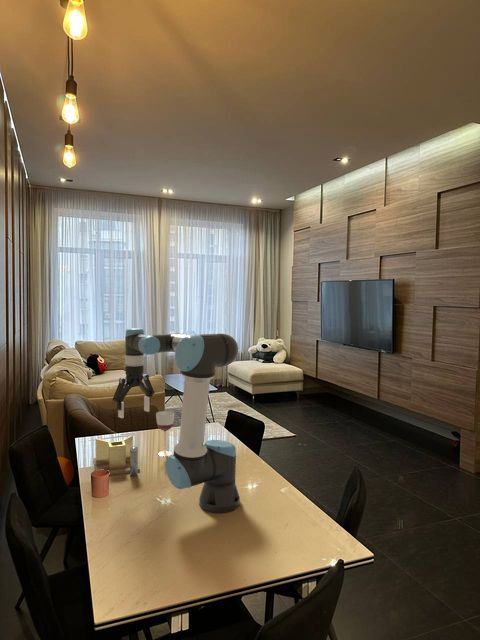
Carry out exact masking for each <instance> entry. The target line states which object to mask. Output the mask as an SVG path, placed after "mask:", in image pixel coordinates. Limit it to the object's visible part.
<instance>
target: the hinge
mask: <svg viewBox="0 0 480 640" xmlns="http://www.w3.org/2000/svg"><path fill="white" fill-rule="evenodd" d="M133 437H134V436H133V434H132V435H129V436H127V437H126V438H124V439H122V440H115V441H108V440H105V439H100V438H95V458H96V461H99V462H103V463H107V464H108V465H109V469H118V468H125V467H126V460H128V459H129V458H130V447H133V446H134V444H133V443H134V440H133V439H134V438H133Z"/></svg>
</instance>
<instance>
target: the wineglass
mask: <svg viewBox="0 0 480 640" xmlns="http://www.w3.org/2000/svg"><path fill="white" fill-rule="evenodd" d="M155 418H156V424H157V427H158V429H159V430H161V431H163V436H164V437H163V438H164V439H163V441H164V442H163V450H161V451H159V453H158V452H157V453H158V455H159V457H163V456H164V457H169V456H171V455H172V456H173V454H174V452H172V451H170V450H167V449H166V448H167V443H166V442H167V441H166V440H167V438H166V437H167V431H169V430H170V429H172V427H173V425H174V420H175V412H173V411H170V410H169V411H168V410H165V411H164V410H163V411H161V410H160V411H156V413H155ZM158 455H157V456H158Z"/></svg>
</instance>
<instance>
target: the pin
mask: <svg viewBox="0 0 480 640" xmlns="http://www.w3.org/2000/svg"><path fill="white" fill-rule="evenodd" d="M138 449H139V448H138V446H135V445H133V447H130V473H129V476H130V477H132V478H133V477H138V475H139V474H138V466H139V461H138V460H139V454H138V453H139V450H138Z"/></svg>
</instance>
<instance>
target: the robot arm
mask: <svg viewBox="0 0 480 640" xmlns="http://www.w3.org/2000/svg"><path fill="white" fill-rule="evenodd" d="M124 338H125V339H124V340H125V341H124V342H125V343H124V345H125V346H124V347H125V361H124V363H125V366H124V367H125V370H124V372H125V373H124V374H125V377H119V380H118V385H117V387H116V389H115V393H114V394H113V397H112V401H113V402H116V410H117V417H118V418H120V419H124V417H125V414H124V413H125V410H124V409H125V406H124V405H125V402H124V399H125V398H126V397H127V395H128V393H129V392H130V390H131V389H132V388H137V387H139V388H140V390H141V391H142V392H143V394H144V396H143V411H144V412H147V413H150V404H151V401H152V400H151V399H152V397H153V395H154V394H155V391H154V388H153V384H152V383H151V381H150V377H149V376H150V374H148V373H147V374H146V373H144V369H145V368H144V363H145V362H144V360H145V359H144V356H145V355H147V356H148V355H155V354H157V353H158V354H159V353H170V352H171V353H173V352H174V361H175V364H176V365H175V366H176V367H177V368H178V369H179V371H180V374H181V375H182V377H183V378H184V381H183V384H184V385H183V395H182V402H181V403H182V406H181V417H180V427H179V437H178V443H176V444H175V445H174V448H173V454H172V455H170V456H167V458H166V460H165V470H166V474H167V477H168V480H169V481H170V483H171V484H172V486H174V488H175V489H179V490H184V489H187V488H188V489H190V488H191V487H193V486H194V487H195V486H197V485H201V484H203V485H202V487H201V491H200V494H199V498H198V499H199V500H198V503H199V504H198V505H199V507H200V508H201V509H203V510H204V511H206V512H210V513H213V514H214V513H215V514H216V513H218V514H220V513H221V514H222V513H223V514H224V513H229V512H233V511H234V510H237V509H238V508H239V507H240V502H241V501H240V500H241V499H240V493H239V491H238V486H237V484H236V475H237V474H236V472H237V471H236V470H237V469H236V468H237V467H236V466H237V452H236V451H237V449H236V445H234V444H233V443H232V442H230V441H227V440H221V439H210V440H209V439H208V440H206V441H205V434H206V425H207V423H206V421H207V413H208V403H209V394H210V384H211V380H212V379H213V378H214V377H215V375H216V369H217V368H224V367H226V366H229V365H231V364H233V362H234V361H235V360H236V359H237V357H238V353H239V346H238V342H237V341H236V340H235V338H234V337H233V336H231V335H229V334H226V333H213V334H212V333H210V334H209V333H206V334H197V333H195V334H192V335H191V334H184V333H179V332H178V333H177V332H176V333H161V334H145V331H144V329H143V328H139V327H138V328H137V327H133V328H132V327H131V328H127V329H126V330H125V337H124Z"/></svg>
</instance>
